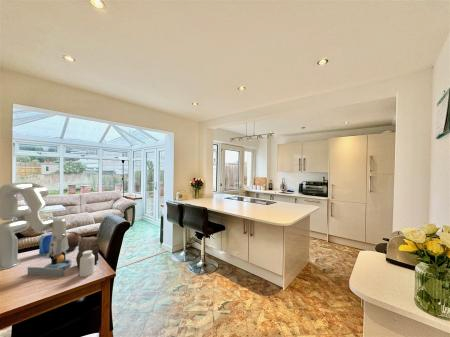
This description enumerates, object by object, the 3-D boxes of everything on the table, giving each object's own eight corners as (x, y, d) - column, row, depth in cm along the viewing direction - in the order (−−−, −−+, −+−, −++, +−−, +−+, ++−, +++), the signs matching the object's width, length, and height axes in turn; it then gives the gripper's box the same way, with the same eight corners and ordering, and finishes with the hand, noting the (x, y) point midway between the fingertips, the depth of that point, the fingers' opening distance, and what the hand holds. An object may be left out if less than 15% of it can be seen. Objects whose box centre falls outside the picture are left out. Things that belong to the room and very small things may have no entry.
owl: (75, 265, 136) (76, 237, 136) (95, 259, 146) (96, 233, 146) (79, 271, 128) (80, 242, 128) (100, 264, 137) (101, 237, 137)
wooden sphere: (53, 252, 155) (53, 234, 155) (70, 245, 169) (70, 229, 170) (69, 254, 153) (69, 236, 153) (85, 246, 168) (85, 230, 168)
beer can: (44, 256, 148) (45, 236, 148) (36, 255, 150) (36, 235, 150) (56, 252, 156) (56, 233, 156) (48, 250, 158) (48, 232, 158)
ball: (58, 265, 129) (58, 256, 129) (50, 264, 129) (50, 256, 129) (66, 260, 135) (66, 252, 135) (58, 260, 135) (58, 252, 135)
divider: (27, 274, 123) (27, 267, 123) (29, 273, 124) (29, 266, 124) (61, 276, 122) (61, 269, 122) (62, 275, 123) (62, 268, 123)
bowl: (38, 272, 125) (38, 269, 125) (58, 262, 139) (58, 259, 140) (57, 274, 124) (57, 270, 124) (76, 263, 139) (76, 260, 139)
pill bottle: (77, 278, 120) (78, 255, 120) (81, 272, 127) (82, 250, 127) (92, 275, 123) (93, 253, 123) (95, 269, 130) (96, 248, 131)
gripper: (51, 241, 123) (51, 268, 123) (74, 232, 140) (74, 256, 140) (41, 241, 124) (40, 268, 124) (65, 232, 141) (64, 256, 141)
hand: (58, 261), depth 132 cm, fingers closed on ball, 5 cm apart
